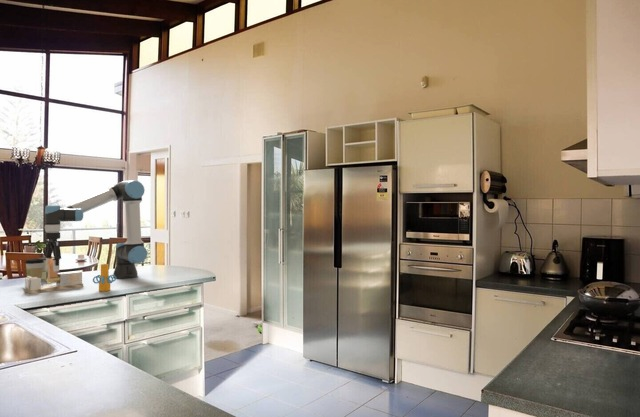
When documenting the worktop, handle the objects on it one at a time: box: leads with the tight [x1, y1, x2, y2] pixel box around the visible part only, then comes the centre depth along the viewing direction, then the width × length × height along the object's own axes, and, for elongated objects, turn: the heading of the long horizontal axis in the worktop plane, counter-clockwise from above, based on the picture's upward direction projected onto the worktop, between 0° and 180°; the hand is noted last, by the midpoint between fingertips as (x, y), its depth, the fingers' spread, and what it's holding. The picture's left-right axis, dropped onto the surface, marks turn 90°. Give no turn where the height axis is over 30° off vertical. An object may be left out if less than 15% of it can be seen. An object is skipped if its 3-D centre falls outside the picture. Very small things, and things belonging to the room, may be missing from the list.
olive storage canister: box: [24, 258, 44, 278], centre depth 269 cm, size 10×10×15 cm
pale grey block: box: [55, 270, 83, 287], centre depth 260 cm, size 12×6×7 cm, turn 140°
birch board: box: [23, 283, 84, 295], centre depth 254 cm, size 28×9×2 cm, turn 140°
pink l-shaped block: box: [45, 258, 60, 284], centre depth 258 cm, size 16×3×14 cm, turn 140°
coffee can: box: [37, 256, 54, 282], centre depth 286 cm, size 10×10×14 cm
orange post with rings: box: [92, 263, 117, 292], centre depth 252 cm, size 12×10×15 cm
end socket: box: [24, 275, 42, 291], centre depth 246 cm, size 6×6×7 cm
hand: (52, 270), depth 254 cm, fingers open, 11 cm apart
